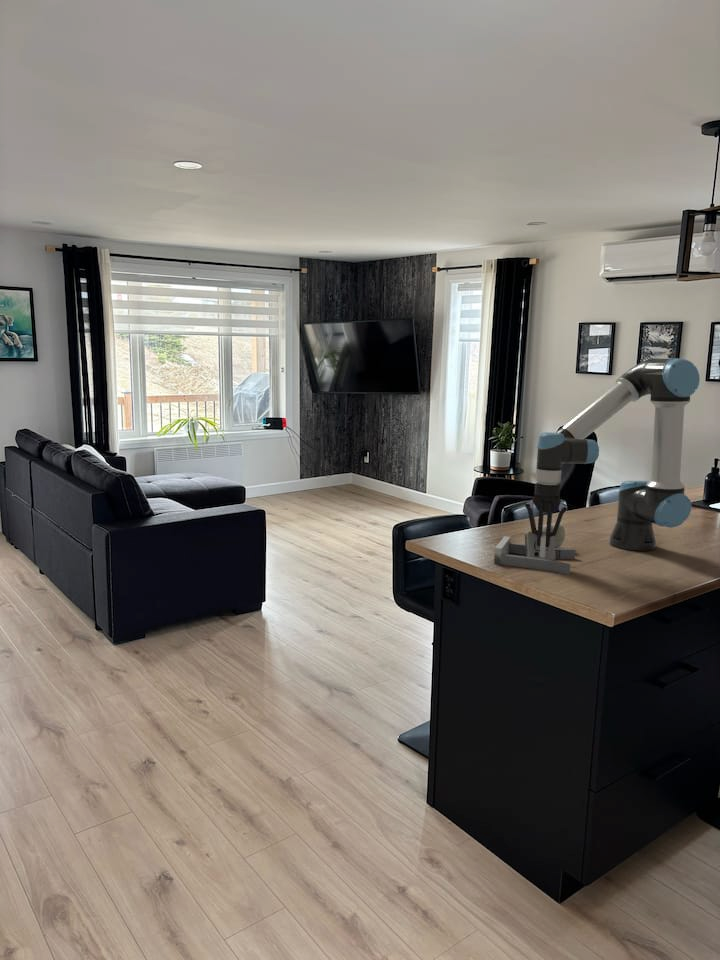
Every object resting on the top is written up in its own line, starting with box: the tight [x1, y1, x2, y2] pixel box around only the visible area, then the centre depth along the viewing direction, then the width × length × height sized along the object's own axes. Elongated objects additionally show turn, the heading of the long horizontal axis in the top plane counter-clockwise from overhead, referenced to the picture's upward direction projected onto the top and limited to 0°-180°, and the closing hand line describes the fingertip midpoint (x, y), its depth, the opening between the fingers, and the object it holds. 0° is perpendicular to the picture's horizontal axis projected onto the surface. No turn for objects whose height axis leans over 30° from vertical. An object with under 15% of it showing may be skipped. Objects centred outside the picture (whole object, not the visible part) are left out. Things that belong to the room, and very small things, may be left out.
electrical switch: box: [524, 530, 556, 560], centre depth 226 cm, size 9×5×9 cm, turn 102°
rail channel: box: [493, 535, 577, 576], centre depth 223 cm, size 23×21×5 cm
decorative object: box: [542, 523, 566, 548], centre depth 240 cm, size 9×9×10 cm
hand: (542, 556), depth 222 cm, fingers closed
